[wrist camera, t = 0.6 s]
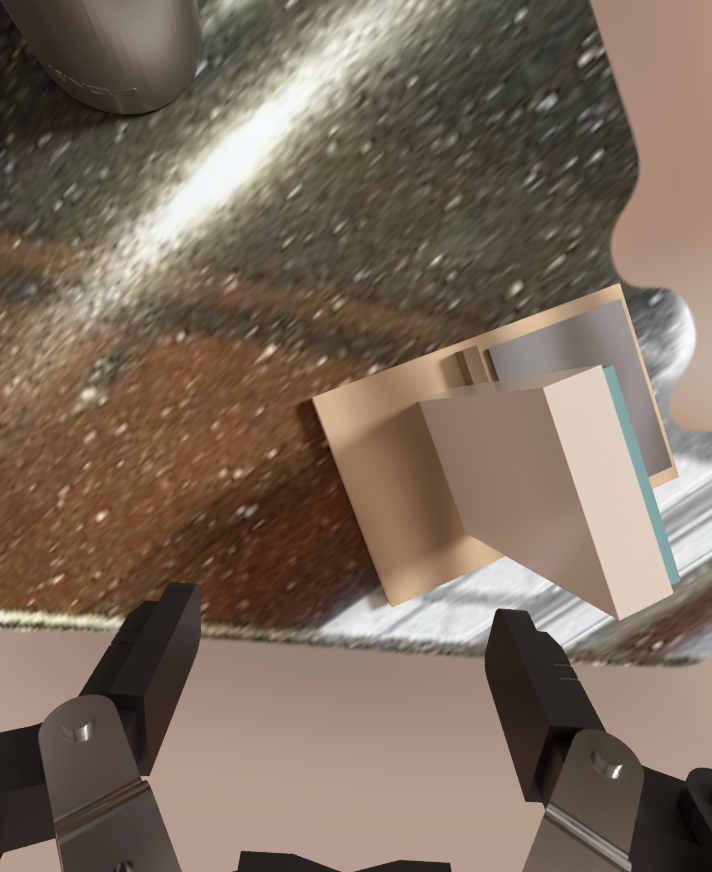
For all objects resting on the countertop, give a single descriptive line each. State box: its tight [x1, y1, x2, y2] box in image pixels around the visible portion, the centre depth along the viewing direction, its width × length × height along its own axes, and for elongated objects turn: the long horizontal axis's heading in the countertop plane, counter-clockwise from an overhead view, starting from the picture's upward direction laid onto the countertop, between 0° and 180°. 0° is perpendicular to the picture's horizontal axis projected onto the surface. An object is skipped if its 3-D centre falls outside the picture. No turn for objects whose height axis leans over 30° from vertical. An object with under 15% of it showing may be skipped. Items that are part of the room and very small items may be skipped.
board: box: [311, 283, 679, 607], centre depth 32 cm, size 22×14×2 cm, turn 110°
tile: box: [419, 365, 681, 621], centre depth 25 cm, size 3×9×14 cm, turn 21°
